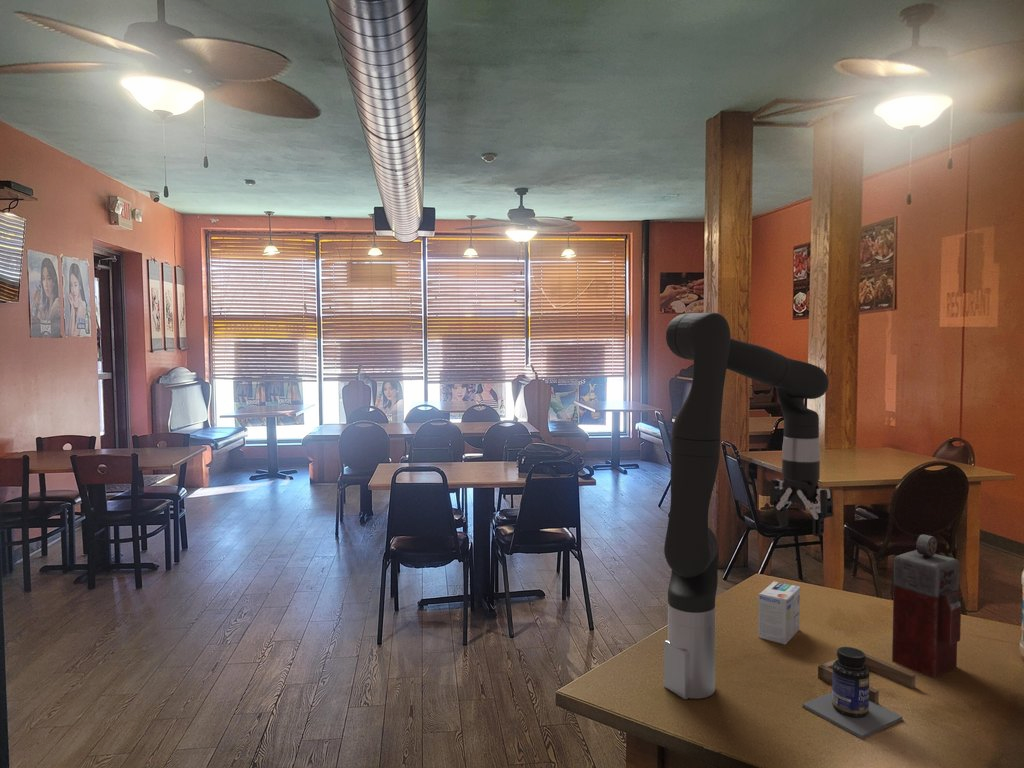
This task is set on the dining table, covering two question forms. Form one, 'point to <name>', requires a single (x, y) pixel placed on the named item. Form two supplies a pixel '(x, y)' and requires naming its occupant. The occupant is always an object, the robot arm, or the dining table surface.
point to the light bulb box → (779, 612)
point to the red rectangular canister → (926, 609)
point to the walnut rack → (876, 666)
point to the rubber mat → (857, 726)
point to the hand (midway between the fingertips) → (800, 531)
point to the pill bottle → (850, 683)
